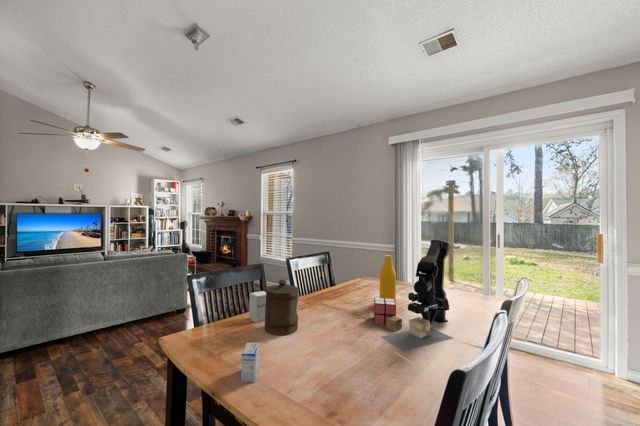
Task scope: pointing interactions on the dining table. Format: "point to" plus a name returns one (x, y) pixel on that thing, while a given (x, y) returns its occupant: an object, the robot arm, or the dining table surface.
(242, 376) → the medicine box
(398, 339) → the rubber mat
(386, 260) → the beer bottle
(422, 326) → the beech cube
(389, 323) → the walnut cube
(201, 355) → the dining table surface
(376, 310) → the puzzle cube
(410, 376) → the dining table surface
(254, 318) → the supplement box
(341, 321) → the dining table surface
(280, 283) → the wooden container
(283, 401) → the dining table surface
